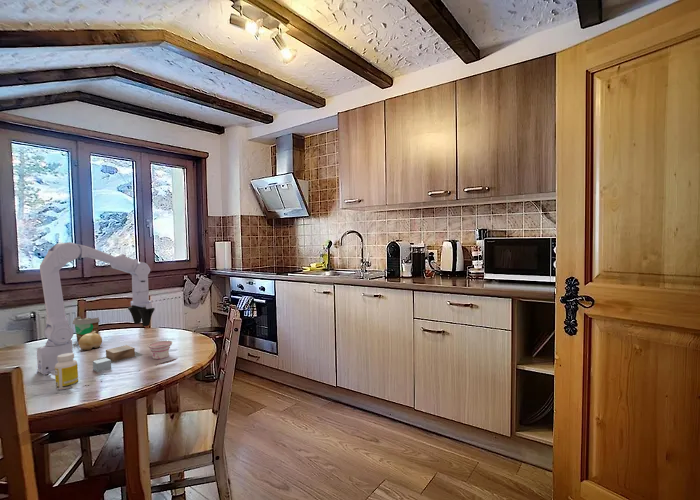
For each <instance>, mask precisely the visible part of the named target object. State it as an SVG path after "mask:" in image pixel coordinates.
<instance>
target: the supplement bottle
mask: <svg viewBox="0 0 700 500" xmlns="http://www.w3.org/2000/svg"><path fill="white" fill-rule="evenodd" d="M57 360H58V361H59V362H58V363H57V364H56V365H55V370H54V378H55V389H56V390H59V391H60V390H61V391H62V390H69V389H71V388H73V386H72V385H76V384H77V383H78V382H79V369H78V361H77V360H76V359H75V353H74V352H73V353H65V354H61V355H58V356H57Z"/></svg>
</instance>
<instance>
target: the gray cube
mask: <svg viewBox="0 0 700 500" xmlns="http://www.w3.org/2000/svg"><path fill="white" fill-rule="evenodd" d="M111 369H112V363H111V360H110V359H108V358H104V359H100V360H97V359H95V360H93V361H92V370H93V371H95V372H96V373H100V372H105V371H107V370H111Z"/></svg>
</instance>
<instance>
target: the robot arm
mask: <svg viewBox="0 0 700 500" xmlns="http://www.w3.org/2000/svg"><path fill="white" fill-rule="evenodd" d="M79 258H81V259H82V258H83V259H84V258H89V259H93V260H97V261H100V262H103V263H107V264H109V265H110V267H111V269H113V270H118V271H122V272H124V273H126V274H130V276H131V289H132V290H131V292H132V293H131V294H132V300H130V307H129V306H128V307H127V310H128V311H129V313H130V314H131V317H132V321H133V323H134V325H137V324H138V325H139V324H141V325H142V326H143V327H148V326H150V324H151V319H152V316H153V314H154V311H155V307H153V300H150V294H149V274H150V273H151V268H150V266H149V265H148V263H146V262H144V261H139V259H137V258H134V259H133V258H132V257H131V258H130V257H128V256H127V254H124V253H121V254H115V255H111V254H109V253H106V252H104V251H101V250H98V249H96V248H93V247H90V246H87V245H84V244H77V243H74V242H70V241H69V242H67V241H66V242H58V243H55V244H54V245H53V246H51V247H50V248H49V249H48V251H47V253H46V255H45V256H44V258H43V259H42V262H41V263H40V265H39V272H40V279H41V284H42V285H41V286H42V291H43V297H44V304H45V305H44V307H45V312H46V320H45V323H46V324H45V325H46V326H45V328H44V331H43V335H44V337H45V338H46V339H47V341H46V342H45V345H43V346H38V348H36V349H37V350H36V361H37V362H36V363H37V369H36V371H37V372H39V373H40V374H41V375H43V376H47V375H50V374H52V372H51V371H55V365H56V364H57V363H58V362H59V361H58V360H57V356H58V355H61V354H65V353H74V351H73V337H74V330H73V328H72V327H71V326H70V324H69V320H68V317H67V316H66V311H65V310H66V308H65V303H64V297H63V296H64V295H63V288H62V282H61V275H60V270H61V269H63V268H64V267H65V266H66V265H67V264H68V263H70V262H72V261H75V260H76V259H79Z"/></svg>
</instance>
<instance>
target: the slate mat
mask: <svg viewBox="0 0 700 500" xmlns="http://www.w3.org/2000/svg"><path fill="white" fill-rule="evenodd" d="M141 356H144V354H142V353H140V352H138V351H135V356H133V357H129V358H125V359H121V360H117V361H112V360H111V364H115V363H119V362H121V361H125V360H129V359H133V358H137V357H141ZM104 358H106V356H104V357H100V358H97V359H96V360H100V359H104Z"/></svg>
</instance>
